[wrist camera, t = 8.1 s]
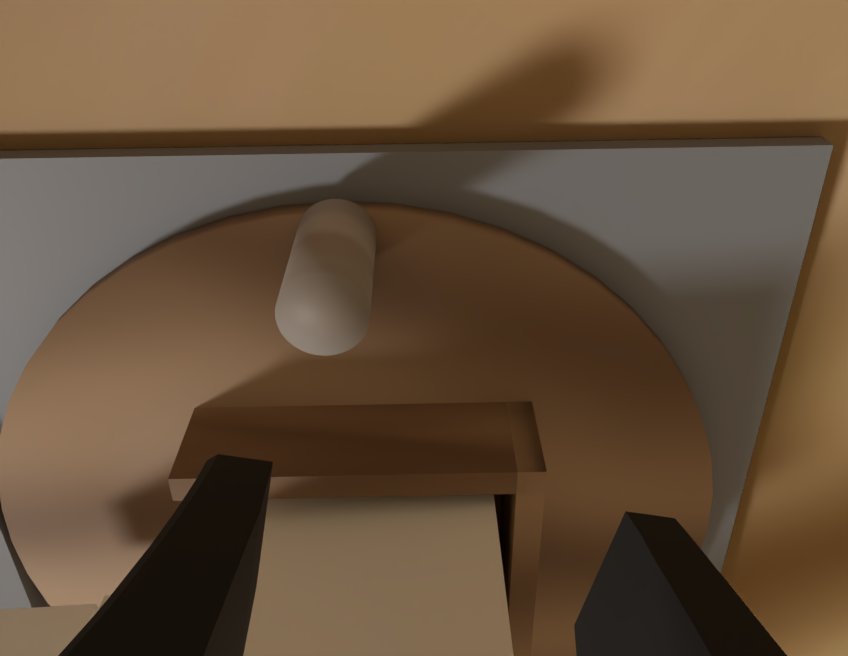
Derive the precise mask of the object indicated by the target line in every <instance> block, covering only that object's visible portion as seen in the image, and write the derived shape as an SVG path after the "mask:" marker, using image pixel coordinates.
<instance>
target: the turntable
mask: <svg viewBox="0 0 848 656" xmlns="http://www.w3.org/2000/svg"><path fill="white" fill-rule="evenodd" d="M217 454H222V455H229V456H236V457H243V458H250V459H257V460H264V461H271V462H273V466H272V473H271V481H270V488H269V496H268V499H284V498H335V497H386V496H437V495H488V494H494V501H495V509H496V517H497V525H498V533H499V541H500V549H501V558H502V566H503V574H504V582H505V590H506V598H507V606H508V614H509V623H510V631H511V639H512V647H513V655H514V656H577V655H576V642H575V630H574V624H575V622H576V620H577V618H578V616H579V613H580V611H581V609H582V607H583V604H584V602H585V600H586V598H587V596H588V593H589V591H590V589H591V587H592V585H593V582H594V580H595V578H596V576H597V573H598V571H599V569H600V567H601V565H602V562H603V560H604V558H605V556H606V554H607V551H608V549H609V547H610V545H611V542H612V540H613V538H614V536H615V534H616V531H617V529H618V527H619V525H620V522H621V520H622V518H623V516H624V514H625V511H627V512H634V513H641V514H649V515H656V516H663V517H670V518H675V519H676V520H677V521H678V522H679V523H680V525H681V526H682V527H683V528H684V529H685V530H686V532H687V533H688V534H689V535H690V536H691V538H692V539H693V540H694V541H695V542H696V544H697V545H698V546H699V547H700V549H701V547H702V544H703V541H704V538H705V535H706V532H707V529H708V524H709V517H710V510H711V504H712V497H713V484H712V459H711V454H710V449H709V445H708V440H707V435H706V431H705V426H704V423H703V420H702V418H701V415H700V413H699V411H698V408H697V406H696V403H695V401H694V399H693V396H692V394H691V391H690V389H689V387H688V385H687V383H686V381H685V379H684V377H683V375H682V373H681V371H680V370H679V368H678V367H677V365H676V363H675V362H674V360H673V359H672V357H671V355H670V354H669V352H668V351H667V349H666V348H665V346H664V344H663V343H662V341H661V340H660V338H659V337H658V336H657V335H656V334H655V333H654V332H653V330H652V329H651V328H650V327H649V326H648V325H647V324H646V323H645V321H644V320H643V319H642V318H641V317H640V316H639V315H638V314H637V312H636V311H635V310H634V309H633V308H632V307H631V306H630V305H629V304H628V303H627V302H625V301H624V300H623V299H622V298H621V297H619V296H618V295H617V294H616V293H615V292H613V291H612V290H611V289H610V288H609V287H607V286H606V285H605V284H604V283H603V282H601V281H600V280H599V279H598V278H597V277H595V276H594V275H592V274H591V273H589V272H587V271H586V270H584V269H583V268H581V267H579V266H578V265H576V264H574V263H573V262H571V261H569V260H568V259H566V258H565V257H563V256H561V255H560V254H558V253H556V252H555V251H553V250H551V249H549V248H547V247H545V246H542V245H540V244H538V243H536V242H533V241H531V240H529V239H527V238H524V237H522V236H520V235H518V234H515V233H513V232H511V231H508V230H506V229H504V228H501V227H497V226H494V225H491V224H487V223H484V222H481V221H477V220H474V219H470V218H467V217H464V216H460V215H457V214H454V213H450V212H444V211H438V210H432V209H426V208H420V207H414V206H408V205H402V204H396V203H374V202H351V201H348V200H344V199H327V200H323V201H320V202H318V203H306V204H293V205H281V206H276V207H271V208H267V209H262V210H257V211H252V212H247V213H243V214H238V215H233V216H228V217H225V218H222V219H219V220H216V221H213V222H210V223H208V224H205V225H202V226H199V227H196V228H193V229H190V230H187V231H185V232H182V233H179V234H176V235H174V236H172V237H170V238H168V239H166V240H164V241H162V242H160V243H159V244H157V245H155V246H153V247H151V248H149V249H147V250H145V251H143V252H141V253H139V254H137V255H135V256H133V257H131V258H130V259H128V260H127V261H126V262H124V263H123V264H121V265H120V266H119V267H117V268H116V269H114V270H113V271H112V272H110V273H109V274H107V275H106V276H105V277H103V278H102V279H100V280H99V281H98V282H96V283H95V284H93V285H92V286H91V287H90V288H89V289H88V290H87V291H86V292H85V293H84V294H83V295H82V296H81V297H80V298H79V299H78V300H77V301H76V302H75V303H74V304H73V305H72V306H71V307H70V308H69V309H68V310H67V311H66V312H65V313H64V314H63V315H62V316H61V317H60V318H59V320H58V321H57V322H56V324H55V325H54V327H53V328H52V329H51V331H50V332H49V333H48V335H47V336H46V338H45V339H44V340H43V342H42V343H41V345H40V346H39V347H38V349H37V350H36V352H35V353H34V354H33V356H32V357H31V359H30V360H29V361H28V363H27V364H26V366H25V368H24V370H23V372H22V374H21V376H20V378H19V381H18V383H17V385H16V387H15V389H14V391H13V393H12V395H11V398H10V400H9V402H8V406H7V410H6V414H5V418H4V422H3V426H2V430H1V434H0V500H1V508H2V512H3V515H4V518H5V521H6V525H7V528H8V531H9V534H10V538H11V541H12V543H13V545H14V547H15V549H16V552H17V554H18V556H19V558H20V560H21V562H22V564H23V566H24V568H25V570H26V572H27V574H28V575H29V577H30V578H31V580H32V581H33V582H34V584H35V585H36V587H37V588H38V590H39V591H40V593H41V594H42V596H43V597H44V598H45V600H46V601H47V603H48V604H49V605H50V606H51V607H52V606H67V605H83V604H97V606H98V608H100V605H101V603H102V600H103V598H104V596H105V595H111V594H112V593H113V592H114V591H115V589H116V588H117V587H118V585H119V584H120V583H121V582H122V580H123V579H124V578H125V577H126V575H127V574H128V573H129V572H130V570H131V569H132V568H133V567H134V565H135V564H136V563H137V562H138V560H139V559H140V558H141V557H142V555H143V554H144V553H145V552H146V550H147V549H148V548H149V547H150V545H151V544H152V542H153V541H154V540H155V538H156V537H157V536H158V534H159V533H160V532H161V530H162V529H163V527H164V526H165V525H166V523H167V522H168V521H169V519H170V518H171V516H172V515H173V514H174V512H175V511H176V509H177V508H178V506H179V505H180V503H181V502H182V500H183V499H184V497H185V496H186V494H187V493H188V491H189V490H190V488H191V487H192V485H193V483H194V482H195V480H196V479H197V477H198V475H199V474H200V472H201V470H202V468H203V466H204V465H205V463H206V461H207V460H208V459H210V458H212V457H214V456H215V455H217Z"/></svg>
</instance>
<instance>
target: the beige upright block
mask: <svg viewBox="0 0 848 656" xmlns="http://www.w3.org/2000/svg"><path fill="white" fill-rule="evenodd" d="M110 596H111V595H105V596H104V598H103V600H102V603H101V605H100V608H101V607H102V605H103V604H104V603H105V602H106V601H107V599H108V598H109V597H110ZM100 608H98V606H97V604H83V605H67V606H52V607H36V608H21V609H5V610H0V656H58V655H59V654H60V653H61V652H62V651H63V650H64V649H65V647H66V646H67V645H68V644H69V643H70V642H71V641H72V640H73V638H74V637H75V636H76V635H77V634H78V633H79V632H80V631H81V630H82V628H83V627H84V626H85V625H86V624H87V623H88V622H89V621H90V619H91V618H92V617H93V616H94V615H95V614H96V612H97V611H98V610H99V609H100ZM243 656H514V655H513V647H512V639H511V631H510V623H509V614H508V606H507V598H506V590H505V582H504V574H503V566H502V558H501V549H500V541H499V533H498V525H497V517H496V509H495V501H494V494H488V495H437V496H386V497H335V498H284V499H268V504H267V511H266V519H265V526H264V534H263V541H262V549H261V556H260V564H259V571H258V579H257V586H256V592H255V597H254V602H253V607H252V613H251V618H250V623H249V628H248V634H247V639H246V644H245V649H244V654H243Z"/></svg>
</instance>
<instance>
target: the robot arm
mask: <svg viewBox="0 0 848 656" xmlns="http://www.w3.org/2000/svg"><path fill="white" fill-rule="evenodd" d="M272 466H273V462H271V461H264V460H257V459H250V458H243V457H236V456H229V455H222V454H217V455H215V456H214V457H212V458H210V459H208V460H207V461H206V463H205V465H204V466H203V468H202V470H201V472H200V474H199V475H198V477H197V479H196V480H195V482H194V483H193V485H192V487H191V488H190V490H189V491H188V493H187V494H186V496H185V497H184V499H183V500H182V502H181V503H180V505H179V506H178V508H177V509H176V511H175V512H174V514H173V515H172V516H171V518H170V519H169V521H168V522H167V523H166V525H165V526H164V527H163V529H162V530H161V532H160V533H159V534H158V536H157V537H156V538H155V540H154V541H153V542H152V544H151V545H150V547H149V548H148V549H147V550H146V552H145V553H144V554H143V555H142V557H141V558H140V559H139V560H138V562H137V563H136V564H135V565H134V567H133V568H132V569H131V570H130V572H129V573H128V574H127V575H126V577H125V578H124V579H123V580H122V582H121V583H120V584H119V585H118V587H117V588H116V589H115V591H114V592H113V593H112V594H111V596H110V597H109V598H108V599H107V601H106V602H105V603H104V604H103V605H102V607H101V608H100V609H99V610H98V611H97V612H96V614H95V615H94V616H93V617H92V618H91V619H90V621H89V622H88V623H87V624H86V625H85V626H84V627H83V628H82V630H81V631H80V632H79V633H78V634H77V635H76V636H75V637H74V638H73V640H72V641H71V642H70V643H69V644H68V645H67V646H66V647H65V649H64V650H63V651H62V652H61V653H60V654H59V655H58V656H243V654H244V649H245V644H246V639H247V634H248V628H249V623H250V618H251V613H252V607H253V602H254V597H255V592H256V586H257V579H258V571H259V564H260V556H261V549H262V541H263V534H264V526H265V519H266V511H267V504H268V496H269V488H270V481H271V473H272ZM574 630H575V642H576V655H577V656H787V655H786V654H785V653H784V652H783V650H782V649H781V648H780V647H779V645H778V644H777V643H776V642H775V641H774V639H773V638H772V637H771V636H770V634H769V633H768V632H767V631H766V630H765V628H764V627H763V626H762V625H761V623H760V622H759V621H758V620H757V618H756V617H755V616H754V615H753V613H752V612H751V611H750V610H749V608H748V607H747V606H746V605H745V604H744V602H743V601H742V600H741V599H740V597H739V596H738V595H737V594H736V592H735V591H734V590H733V589H732V587H731V586H730V585H729V584H728V582H727V581H726V580H725V579H724V577H723V576H722V575H721V574H720V572H719V571H718V570H717V569H716V567H715V566H714V565H713V564H712V562H711V561H710V560H709V559H708V557H707V556H706V555H705V554H704V552H703V551H702V550H701V549H700V547H699V546H698V545H697V544H696V542H695V541H694V540H693V539H692V538H691V536H690V535H689V534H688V533H687V532H686V530H685V529H684V528H683V527H682V526H681V525H680V523H679V522H678V521H677V520H676V519H675V518H670V517H663V516H656V515H649V514H641V513H634V512H627V511H625V514H624V516H623V518H622V520H621V522H620V525H619V527H618V529H617V531H616V534H615V536H614V538H613V540H612V542H611V545H610V547H609V549H608V551H607V554H606V556H605V558H604V560H603V562H602V565H601V567H600V569H599V571H598V573H597V576H596V578H595V580H594V582H593V585H592V587H591V589H590V591H589V593H588V596H587V598H586V600H585V602H584V604H583V607H582V609H581V611H580V613H579V616H578V618H577V620H576V622H575V624H574Z"/></svg>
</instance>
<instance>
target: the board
mask: <svg viewBox="0 0 848 656" xmlns="http://www.w3.org/2000/svg"><path fill="white" fill-rule="evenodd" d="M832 149H833V144H831V143H830V142H829V141H827V140H826V139H825V138H823V137H798V138H737V139H676V140H614V141H553V142H492V143H431V144H370V145H308V146H247V147H186V148H125V149H64V150H3V151H0V434H1V430H2V426H3V422H4V418H5V414H6V410H7V406H8V402H9V400H10V398H11V395H12V393H13V391H14V389H15V387H16V385H17V383H18V381H19V378H20V376H21V374H22V372H23V370H24V368H25V366H26V364H27V363H28V361H29V360H30V359H31V357H32V356H33V354H34V353H35V352H36V350H37V349H38V347H39V346H40V345H41V343H42V342H43V340H44V339H45V338H46V336H47V335H48V333H49V332H50V331H51V329H52V328H53V327H54V325H55V324H56V322H57V321H58V320H59V318H60V317H61V316H62V315H63V314H64V313H65V312H66V311H67V310H68V309H69V308H70V307H71V306H72V305H73V304H74V303H75V302H76V301H77V300H78V299H79V298H80V297H81V296H82V295H83V294H84V293H85V292H86V291H87V290H88V289H89V288H90V287H91V286H92V285H93V284H95V283H96V282H98V281H99V280H100V279H102V278H103V277H105V276H106V275H107V274H109V273H110V272H112V271H113V270H114V269H116V268H117V267H119V266H120V265H121V264H123V263H124V262H126V261H127V260H128V259H130V258H131V257H133V256H135V255H137V254H139V253H141V252H143V251H145V250H147V249H149V248H151V247H153V246H155V245H157V244H159V243H160V242H162V241H164V240H166V239H168V238H170V237H172V236H174V235H176V234H179V233H182V232H185V231H187V230H190V229H193V228H196V227H199V226H202V225H205V224H208V223H210V222H213V221H216V220H219V219H222V218H225V217H228V216H233V215H238V214H243V213H247V212H252V211H257V210H262V209H267V208H271V207H276V206H281V205H293V204H306V203H318V202H320V201H323V200H327V199H344V200H348V201H351V202H374V203H396V204H402V205H408V206H414V207H420V208H426V209H432V210H438V211H444V212H450V213H454V214H457V215H460V216H464V217H467V218H470V219H474V220H477V221H481V222H484V223H487V224H491V225H494V226H497V227H501V228H504V229H506V230H508V231H511V232H513V233H515V234H518V235H520V236H522V237H524V238H527V239H529V240H531V241H533V242H536V243H538V244H540V245H542V246H545V247H547V248H549V249H551V250H553V251H555V252H556V253H558V254H560V255H561V256H563V257H565V258H566V259H568V260H569V261H571V262H573V263H574V264H576V265H578V266H579V267H581V268H583V269H584V270H586V271H587V272H589V273H591V274H592V275H594V276H595V277H597V278H598V279H599V280H600V281H601V282H603V283H604V284H605V285H606V286H607V287H609V288H610V289H611V290H612V291H613V292H615V293H616V294H617V295H618V296H619V297H621V298H622V299H623V300H624V301H625V302H627V303H628V304H629V305H630V306H631V307H632V308H633V309H634V310H635V311H636V312H637V314H638V315H639V316H640V317H641V318H642V319H643V320H644V321H645V323H646V324H647V325H648V326H649V327H650V328H651V329H652V330H653V332H654V333H655V334H656V335H657V336H658V337H659V338H660V340H661V341H662V343H663V344H664V346H665V348H666V349H667V351H668V352H669V354H670V355H671V357H672V359H673V360H674V362H675V363H676V365H677V367H678V368H679V370H680V371H681V373H682V375H683V377H684V379H685V381H686V383H687V385H688V387H689V389H690V391H691V394H692V396H693V399H694V401H695V403H696V406H697V408H698V411H699V413H700V415H701V418H702V420H703V423H704V426H705V431H706V435H707V440H708V445H709V449H710V454H711V459H712V484H713V497H712V504H711V510H710V517H709V524H708V529H707V532H706V535H705V538H704V541H703V544H702V547H701V550H702V551H703V552H704V554H705V555H706V556H707V557H708V559H709V560H710V561H711V562H712V564H713V565H714V566H715V567H716V569H717V570H718V571H719V572H720V574H721V571H722V567H723V563H724V560H725V556H726V552H727V548H728V544H729V541H730V537H731V533H732V529H733V525H734V522H735V518H736V514H737V510H738V506H739V503H740V499H741V495H742V491H743V487H744V484H745V480H746V476H747V472H748V468H749V465H750V461H751V457H752V453H753V449H754V446H755V442H756V438H757V434H758V430H759V427H760V423H761V419H762V415H763V411H764V408H765V404H766V400H767V396H768V392H769V389H770V385H771V381H772V377H773V373H774V370H775V366H776V362H777V358H778V354H779V351H780V347H781V343H782V339H783V335H784V332H785V328H786V324H787V320H788V316H789V313H790V309H791V305H792V301H793V297H794V294H795V290H796V286H797V282H798V278H799V275H800V271H801V267H802V263H803V259H804V256H805V252H806V248H807V244H808V240H809V237H810V233H811V229H812V225H813V221H814V218H815V214H816V210H817V206H818V202H819V199H820V195H821V191H822V187H823V183H824V180H825V176H826V172H827V168H828V164H829V161H830V157H831V153H832ZM36 607H51V606H50V605H49V604H48V603H47V601H46V600H45V598H44V597H43V596H42V594H41V593H40V591H39V590H38V588H37V587H36V585H35V584H34V582H33V581H32V580H31V578H30V577H29V575H28V574H27V572H26V570H25V568H24V566H23V564H22V562H21V560H20V558H19V556H18V554H17V552H16V549H15V547H14V545H13V543H12V541H11V538H10V534H9V531H8V528H7V525H6V521H5V518H4V515H3V512H2V508H1V500H0V610H5V609H21V608H36Z"/></svg>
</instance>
